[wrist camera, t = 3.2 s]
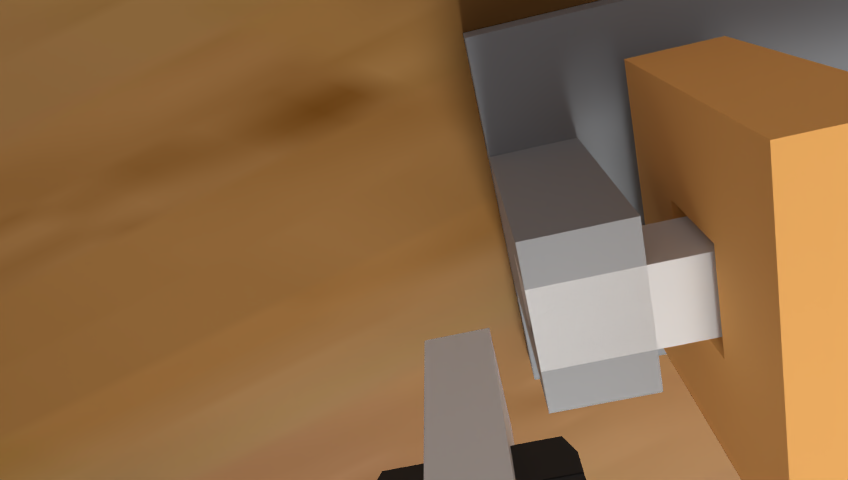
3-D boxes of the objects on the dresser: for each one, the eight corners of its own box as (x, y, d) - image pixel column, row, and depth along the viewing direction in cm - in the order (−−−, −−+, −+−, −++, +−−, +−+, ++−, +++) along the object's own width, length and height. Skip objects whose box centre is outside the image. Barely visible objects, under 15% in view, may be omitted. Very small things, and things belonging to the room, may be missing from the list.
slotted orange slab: (660, 342, 25) (794, 568, 16) (624, 59, 22) (770, 140, 13) (746, 325, 25) (933, 545, 16) (724, 35, 22) (949, 100, 12)
